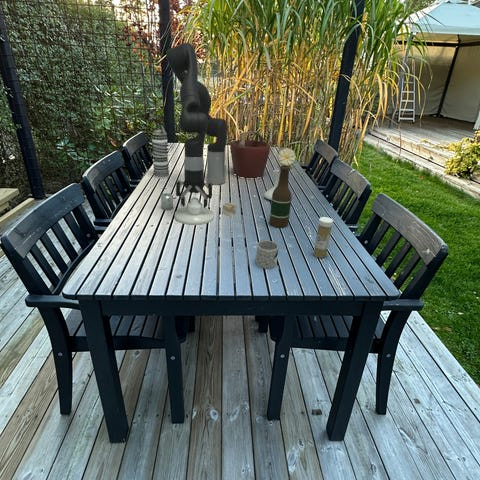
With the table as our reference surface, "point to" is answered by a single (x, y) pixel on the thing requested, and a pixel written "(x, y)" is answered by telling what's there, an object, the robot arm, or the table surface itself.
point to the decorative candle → (160, 154)
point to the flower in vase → (285, 158)
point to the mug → (267, 254)
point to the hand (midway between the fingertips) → (194, 206)
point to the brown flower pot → (249, 156)
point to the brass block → (229, 209)
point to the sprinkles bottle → (323, 237)
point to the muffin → (194, 206)
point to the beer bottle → (281, 200)
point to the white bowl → (194, 216)
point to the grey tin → (166, 201)
